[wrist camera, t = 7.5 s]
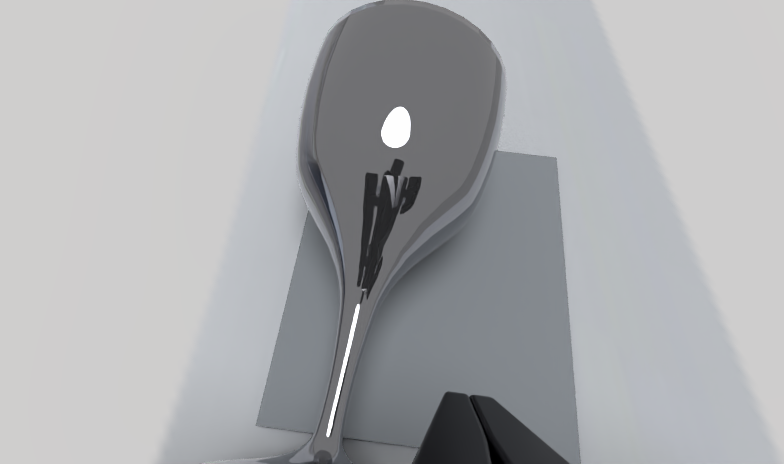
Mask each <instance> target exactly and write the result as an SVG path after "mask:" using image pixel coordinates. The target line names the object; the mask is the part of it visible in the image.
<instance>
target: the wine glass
mask: <svg viewBox="0 0 784 464" xmlns="http://www.w3.org/2000/svg"><path fill="white" fill-rule="evenodd" d="M506 91H507V80H506V72H505V67H504V65H503V62H502V59H501V56H500V54H499V53H498V51H497V50H496V48H495V46H494V45H493V43H492V42H491V41H490V40H489V38H488V37H487V36H486V35H485V34H484V33H483V32H482V31H481V30H480V29H479V28H478V27H476V26H475V25H474V24H472V23H471V22H469V21H468V20H467V19H465V18H464V17H462V16H460V15H458V14H456V13H454V12H452V11H450V10H448V9H446V8H443V7H440V6H437V5H433V4H430V3H427V2H421V1H414V0H383V1H378V2H373V3H368V4H365V5H363V6H361V7H358V8H356V9H353V10H351V11H350V12H348V13H347V14H345V15H344V16H343V17H341V18H340V19H338V20H337V22H336V23H335V24H334V25H333V26H332V27H331V28H330V29H329V31H328V33H327V35H326V36H325V38H324V40H323V42H322V44H321V46H320V49H319V51H318V54H317V56H316V59H315V62H314V64H313V67H312V70H311V74H310V77H309V80H308V84H307V87H306V90H305V94H304V99H303V103H302V109H301V114H300V120H299V126H298V133H297V148H296V166H297V179H298V184H299V187H300V190H301V192H302V195H303V198H304V201H305V203H306V205H307V207H308V209H309V211H310V213H311V215H312V217H313V219H314V221H315V223H316V225H317V227H318V229H319V231H320V233H321V235H322V237H323V239H324V241H325V243H326V245H327V247H328V249H329V251H330V254H331V257H332V260H333V263H334V266H335V269H336V274H337V280H338V285H339V294H340V298H339V314H338V323H337V331H336V339H335V346H334V353H333V359H332V364H331V370H330V375H329V380H328V384H327V389H326V393H325V397H324V401H323V405H322V409H321V413H320V416H319V419H318V422H317V425H316V428H315V432H314V433H313V435H312V437H311V439H310V441H308V442H307V443H306V444H305V445H303V446H302V447H300V448H299V449H296V450H294V451H292V452H289V453H286V454H282V455H278V456H271V457H265V458H250V459H236V460H223V461H212V462H206V463H201V464H353V463H352V462H351V460H350V459H349V458H348V456H347V455H346V453H345V451H344V449H343V432H344V426H345V419H346V415H347V410H348V405H349V400H350V396H351V392H352V388H353V384H354V380H355V377H356V373H357V370H358V366H359V363H360V360H361V357H362V354H363V351H364V348H365V345H366V342H367V339H368V336H369V333H370V330H371V328H372V325H373V322H374V319H375V317H376V314H377V312H378V310H379V308H380V305H381V304H382V302H383V300H384V299H385V297H386V296H387V294H388V293H389V292H390V290H391V289H392V288H393V286H394V285H395V284H396V283H397V282H398V281H399V280H400V279H401V278H402V277H403V276H404V275H405V274H406V273H407V272H408V271H409V270H410V269H411V268H412V267H413V266H415V265H416V264H417V263H419V262H420V261H421V260H423V259H424V258H425V257H427V256H428V255H429V254H430V253H432V252H433V251H434V250H436V249H437V248H438V247H440V246H441V245H442V244H444V243H445V242H446V241H448V240H449V239H450V238H451V237H453V236H454V235H455V234H456V233H457V232H458V231H459V230H460V229H461V228H462V227H463V226H464V225H465V224H466V223H467V221H468V220H469V219H470V217H471V216H472V214H473V212H474V211H475V209H476V207H477V205H478V203H479V201H480V199H481V196H482V194H483V191H484V189H485V187H486V184H487V182H488V179H489V177H490V174H491V171H492V168H493V164H494V161H495V158H496V155H497V151H498V148H499V142H500V137H501V131H502V125H503V119H504V111H505V101H506Z"/></svg>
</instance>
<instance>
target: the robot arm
mask: <svg viewBox="0 0 784 464" xmlns="http://www.w3.org/2000/svg"><path fill="white" fill-rule="evenodd" d="M412 464H570V463H569V462H568V461H567V460H565V459H564V458H563V457H562V456H561V455H560V454H558V453H557V452H556V451H555V450H554V449H552V448H551V447H550V446H549V445H548V444H547V443H545V442H544V441H543V440H542V439H541V438H540V437H538V436H537V435H536V434H535V433H534V432H532V431H531V430H530V429H529V428H528V427H527V426H525V425H524V424H523V423H522V422H521V421H519V420H518V419H517V418H516V417H515V416H514V415H512V414H511V413H510V412H509V411H508V410H507V409H505V408H504V407H503V406H502V405H501V404H499V403H498V402H497V401H496V400H495V399H493V398H492V397H488V396H481V395H470V396H468V395H467V394H465V393H457V392H450V391H447V392H445V394H444V396H443V398H442V400H441V402H440V404H439V406H438V408H437V411H436V413H435V415H434V417H433V419H432V421H431V424H430V426H429V428H428V430H427V432H426V434H425V436H424V439H423V441H422V443H421V445H420V447H419V449H418V451H417V454H416V456H415V458H414V460H413V462H412Z"/></svg>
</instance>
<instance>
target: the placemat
mask: <svg viewBox="0 0 784 464" xmlns="http://www.w3.org/2000/svg"><path fill="white" fill-rule="evenodd" d="M339 298H340V294H339V285H338V280H337V274H336V269H335V266H334V263H333V260H332V257H331V254H330V251H329V249H328V247H327V245H326V243H325V241H324V239H323V237H322V235H321V233H320V231H319V229H318V227H317V225H316V223H315V221H314V219H313V217H312V215H311V213H310V211H309V210H308V214H307V218H306V222H305V226H304V230H303V235H302V239H301V243H300V247H299V251H298V255H297V259H296V263H295V267H294V271H293V276H292V280H291V284H290V288H289V292H288V296H287V300H286V304H285V308H284V312H283V316H282V321H281V325H280V329H279V333H278V337H277V341H276V345H275V349H274V353H273V357H272V362H271V366H270V370H269V374H268V378H267V382H266V386H265V390H264V394H263V398H262V402H261V407H260V411H259V415H258V419H257V423H256V426H262V427H269V428H277V429H284V430H292V431H299V432H306V433H314V432H315V428H316V425H317V422H318V419H319V416H320V413H321V409H322V405H323V401H324V397H325V393H326V389H327V384H328V380H329V375H330V370H331V364H332V359H333V353H334V346H335V339H336V331H337V323H338V314H339ZM447 391H450V392H457V393H465V394H467V395H468V396H470V395H481V396H488V397H492V398H493V399H495V400H496V401H497V402H498V403H499V404H501V405H502V406H503V407H504V408H505V409H507V410H508V411H509V412H510V413H511V414H512V415H514V416H515V417H516V418H517V419H518V420H519V421H521V422H522V423H523V424H524V425H525V426H527V427H528V428H529V429H530V430H531V431H532V432H534V433H535V434H536V435H537V436H538V437H540V438H541V439H542V440H543V441H544V442H545V443H547V444H548V445H549V446H550V447H551V448H552V449H554V450H555V451H556V452H557V453H558V454H560V455H561V456H562V457H563V458H564V459H565V460H567V461H568V462H569V463H570V464H581V460H580V448H579V435H578V423H577V410H576V398H575V385H574V372H573V360H572V347H571V335H570V322H569V309H568V297H567V284H566V272H565V259H564V247H563V234H562V221H561V209H560V196H559V184H558V171H557V159H556V158H554V157H546V156H537V155H528V154H520V153H511V152H503V151H497V155H496V158H495V161H494V164H493V168H492V171H491V174H490V177H489V179H488V182H487V184H486V187H485V189H484V191H483V194H482V196H481V199H480V201H479V203H478V205H477V207H476V209H475V211H474V212H473V214H472V216H471V217H470V219H469V220H468V221H467V223H466V224H465V225H464V226H463V227H462V228H461V229H460V230H459V231H458V232H457V233H456V234H455V235H454V236H453V237H451V238H450V239H449V240H448V241H446V242H445V243H444V244H442V245H441V246H440V247H438V248H437V249H436V250H434V251H433V252H432V253H430V254H429V255H428V256H427V257H425V258H424V259H423V260H421V261H420V262H419V263H417V264H416V265H415V266H413V267H412V268H411V269H410V270H409V271H408V272H407V273H406V274H405V275H404V276H403V277H402V278H401V279H400V280H399V281H398V282H397V283H396V284H395V285H394V286H393V288H392V289H391V290H390V292H389V293H388V294H387V296H386V297H385V299H384V300H383V302H382V304H381V305H380V308H379V310H378V312H377V314H376V317H375V319H374V322H373V325H372V328H371V330H370V333H369V336H368V339H367V342H366V345H365V348H364V351H363V354H362V357H361V360H360V363H359V366H358V370H357V373H356V377H355V380H354V384H353V388H352V392H351V396H350V400H349V405H348V410H347V415H346V419H345V426H344V432H343V437H344V438H351V439H359V440H366V441H374V442H381V443H388V444H396V445H403V446H411V447H418V448H419V447H420V445H421V443H422V441H423V439H424V436H425V434H426V432H427V430H428V428H429V426H430V424H431V421H432V419H433V417H434V415H435V413H436V411H437V408H438V406H439V404H440V402H441V400H442V398H443V396H444V394H445V392H447Z"/></svg>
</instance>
